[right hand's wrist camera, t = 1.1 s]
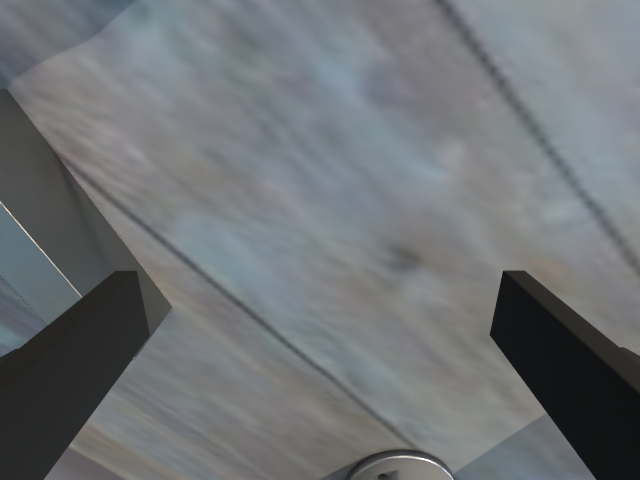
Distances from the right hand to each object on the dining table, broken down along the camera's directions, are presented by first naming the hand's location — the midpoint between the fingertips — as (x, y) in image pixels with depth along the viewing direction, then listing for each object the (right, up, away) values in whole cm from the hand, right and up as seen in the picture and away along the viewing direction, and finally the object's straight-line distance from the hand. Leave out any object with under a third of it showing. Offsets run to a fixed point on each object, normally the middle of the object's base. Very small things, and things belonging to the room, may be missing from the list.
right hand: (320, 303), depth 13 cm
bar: (-24, +4, +22) cm, 32 cm away
